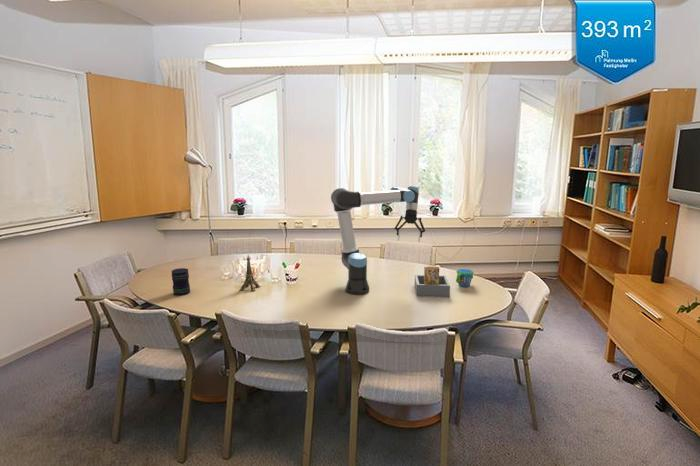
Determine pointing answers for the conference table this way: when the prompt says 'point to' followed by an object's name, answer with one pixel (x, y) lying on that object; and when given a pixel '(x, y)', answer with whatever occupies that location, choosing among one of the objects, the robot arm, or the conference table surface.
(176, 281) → the storage jar
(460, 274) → the snack cup
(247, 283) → the eiffel tower
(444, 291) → the bin
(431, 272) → the candy box
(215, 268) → the conference table surface
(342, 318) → the conference table surface
